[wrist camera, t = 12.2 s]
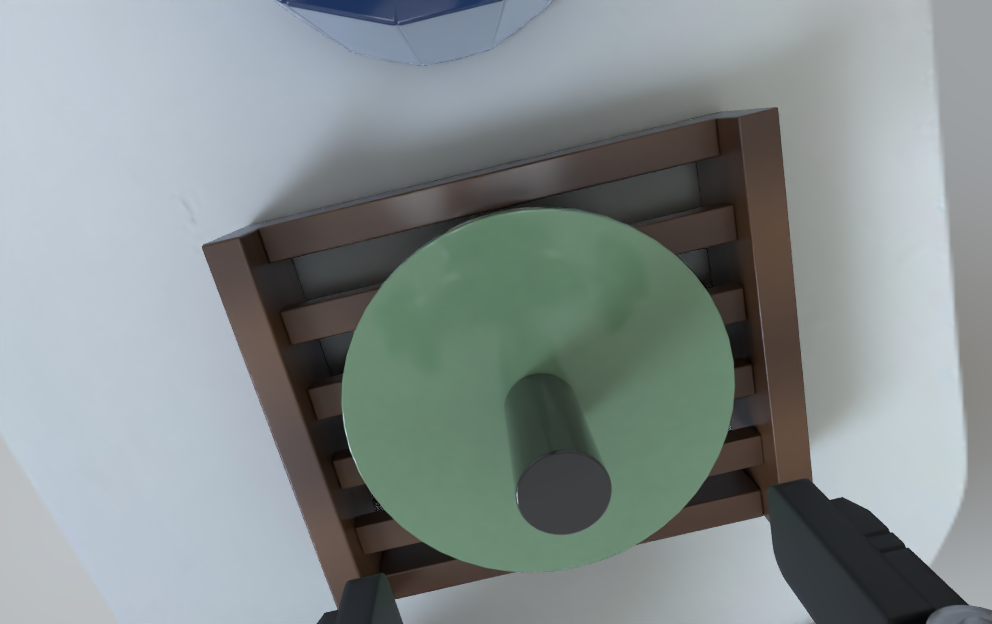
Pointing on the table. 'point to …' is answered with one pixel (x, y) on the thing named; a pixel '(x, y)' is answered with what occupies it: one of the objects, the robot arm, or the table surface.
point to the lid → (537, 389)
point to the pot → (416, 25)
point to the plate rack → (705, 140)
